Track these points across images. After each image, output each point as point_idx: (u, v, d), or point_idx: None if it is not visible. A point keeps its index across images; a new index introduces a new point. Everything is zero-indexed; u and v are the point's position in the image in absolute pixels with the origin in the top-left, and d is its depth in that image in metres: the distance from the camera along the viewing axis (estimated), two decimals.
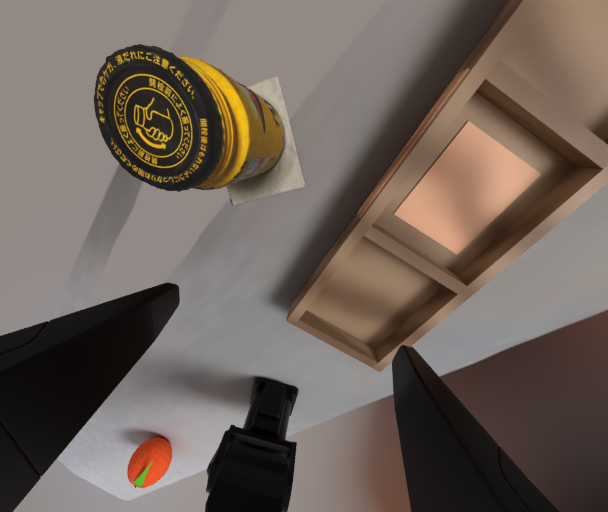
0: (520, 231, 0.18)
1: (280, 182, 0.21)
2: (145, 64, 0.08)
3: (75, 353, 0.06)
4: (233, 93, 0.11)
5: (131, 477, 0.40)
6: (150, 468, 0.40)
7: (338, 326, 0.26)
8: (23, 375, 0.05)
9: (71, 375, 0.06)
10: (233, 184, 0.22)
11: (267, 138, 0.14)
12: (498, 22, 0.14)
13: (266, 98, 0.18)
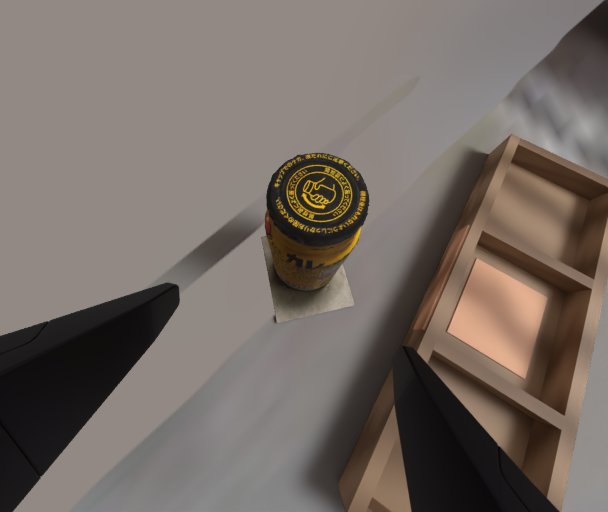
0: (569, 345, 0.19)
1: (329, 300, 0.21)
2: (326, 160, 0.12)
3: (75, 353, 0.06)
4: None
5: None
6: None
7: None
8: (23, 375, 0.05)
9: (71, 375, 0.06)
10: (281, 301, 0.21)
11: None
12: (470, 209, 0.24)
13: None
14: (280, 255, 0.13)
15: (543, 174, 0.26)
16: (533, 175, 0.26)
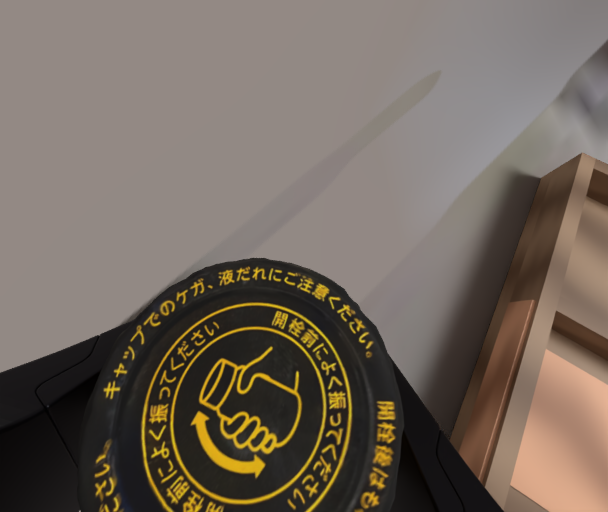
0: None
1: None
2: (278, 289, 0.04)
3: None
4: None
5: None
6: None
7: None
8: (85, 393, 0.05)
9: None
10: None
11: None
12: (526, 267, 0.16)
13: None
14: None
15: None
16: None
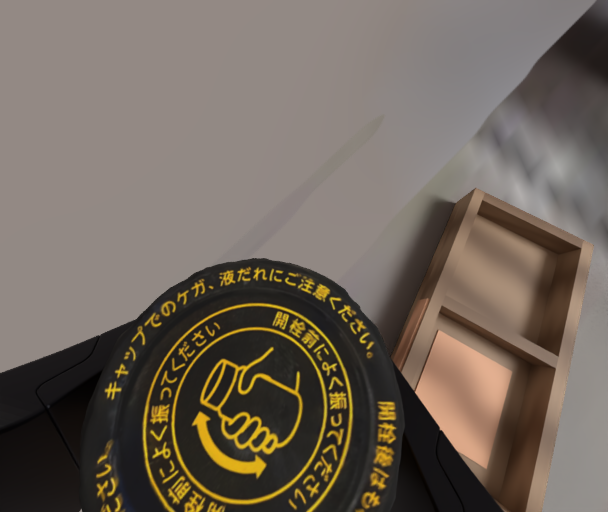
0: (531, 432, 0.18)
1: None
2: (279, 289, 0.04)
3: None
4: None
5: None
6: None
7: None
8: (85, 393, 0.05)
9: None
10: None
11: None
12: (432, 274, 0.22)
13: None
14: None
15: (510, 228, 0.24)
16: (500, 228, 0.24)
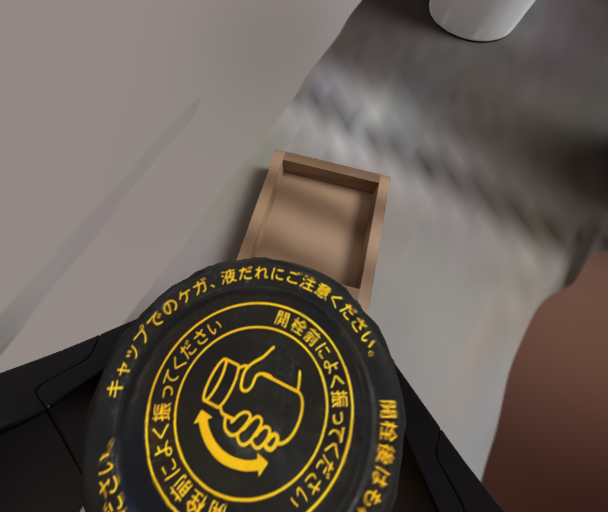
0: None
1: None
2: (281, 288, 0.04)
3: None
4: None
5: None
6: None
7: None
8: (86, 393, 0.05)
9: None
10: None
11: None
12: None
13: None
14: None
15: (323, 179, 0.25)
16: (316, 182, 0.25)
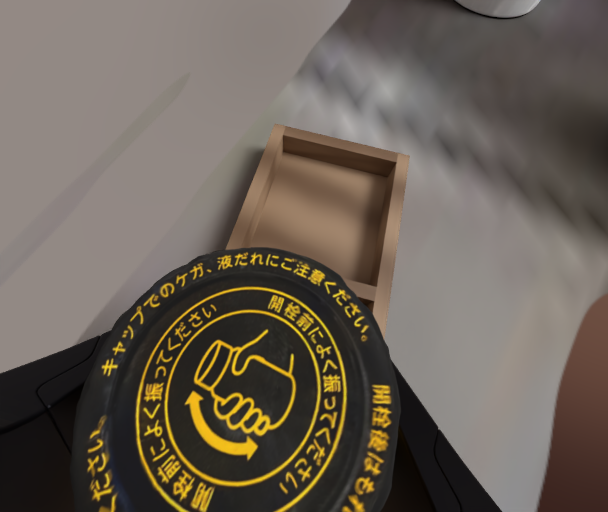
0: None
1: None
2: (275, 274, 0.04)
3: None
4: None
5: None
6: None
7: None
8: None
9: None
10: None
11: None
12: None
13: None
14: None
15: (330, 160, 0.21)
16: (321, 164, 0.21)
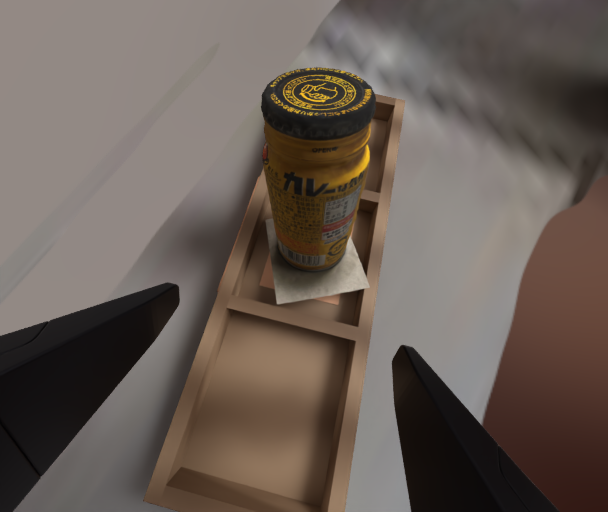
0: (367, 260, 0.20)
1: (340, 282, 0.18)
2: (327, 71, 0.11)
3: (75, 353, 0.06)
4: None
5: None
6: None
7: (247, 482, 0.16)
8: (23, 375, 0.05)
9: (71, 375, 0.06)
10: (283, 281, 0.18)
11: None
12: None
13: None
14: (277, 179, 0.12)
15: None
16: None
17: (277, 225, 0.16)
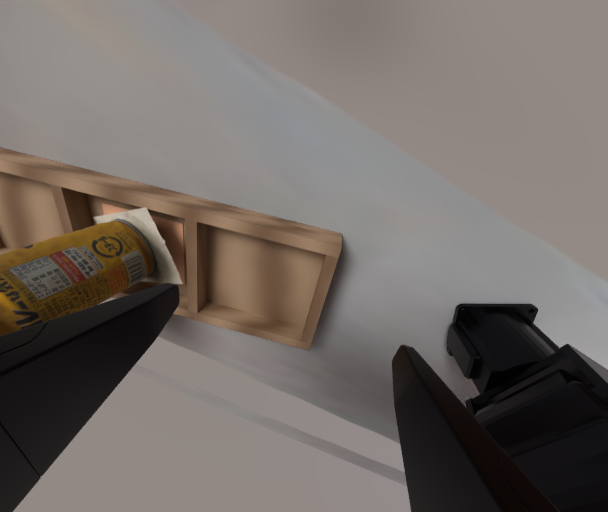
0: None
1: (152, 232, 0.20)
2: None
3: (75, 353, 0.06)
4: None
5: None
6: None
7: (312, 291, 0.23)
8: (23, 375, 0.05)
9: (71, 375, 0.06)
10: (167, 276, 0.22)
11: (41, 245, 0.16)
12: None
13: None
14: None
15: None
16: None
17: (105, 299, 0.19)
